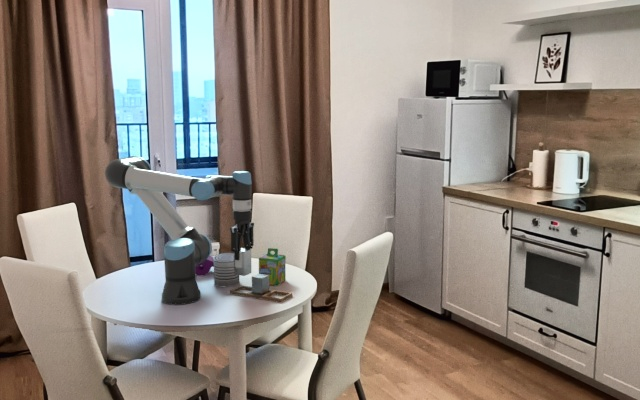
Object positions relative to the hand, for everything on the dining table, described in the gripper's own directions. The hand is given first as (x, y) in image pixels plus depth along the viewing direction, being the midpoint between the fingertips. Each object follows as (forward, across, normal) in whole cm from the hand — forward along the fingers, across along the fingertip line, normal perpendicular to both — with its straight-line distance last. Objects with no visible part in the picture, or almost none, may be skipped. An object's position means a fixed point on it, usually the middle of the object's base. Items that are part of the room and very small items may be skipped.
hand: (242, 265), depth 251 cm
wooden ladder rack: (+11, 0, -9) cm, 14 cm away
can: (+12, +8, +14) cm, 20 cm away
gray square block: (+11, 0, -9) cm, 14 cm away
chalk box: (+11, +18, -3) cm, 21 cm away
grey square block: (+3, 0, 0) cm, 3 cm away
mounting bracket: (+12, +19, +30) cm, 37 cm away
